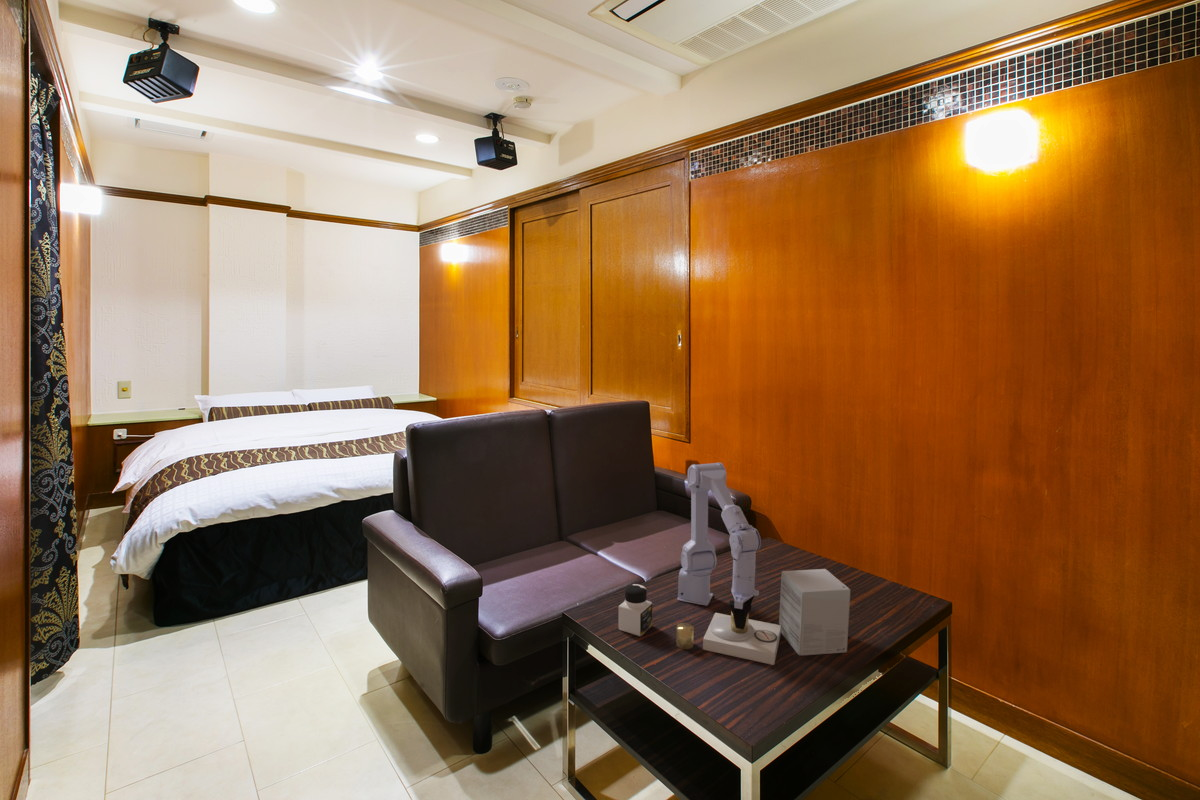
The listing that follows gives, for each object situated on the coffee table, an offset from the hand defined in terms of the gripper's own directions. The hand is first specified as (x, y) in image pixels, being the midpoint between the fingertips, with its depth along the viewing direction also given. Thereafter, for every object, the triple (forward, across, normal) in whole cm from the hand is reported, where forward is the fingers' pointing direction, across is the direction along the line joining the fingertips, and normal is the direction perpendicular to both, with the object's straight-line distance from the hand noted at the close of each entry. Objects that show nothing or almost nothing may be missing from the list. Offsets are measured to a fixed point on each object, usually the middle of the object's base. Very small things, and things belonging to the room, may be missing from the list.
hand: (742, 622), depth 156 cm
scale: (+6, 0, 0) cm, 6 cm away
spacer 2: (+2, 0, +1) cm, 2 cm away
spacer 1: (+6, -7, +14) cm, 16 cm away
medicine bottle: (+6, -4, +29) cm, 30 cm away
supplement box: (+6, +8, -17) cm, 20 cm away
